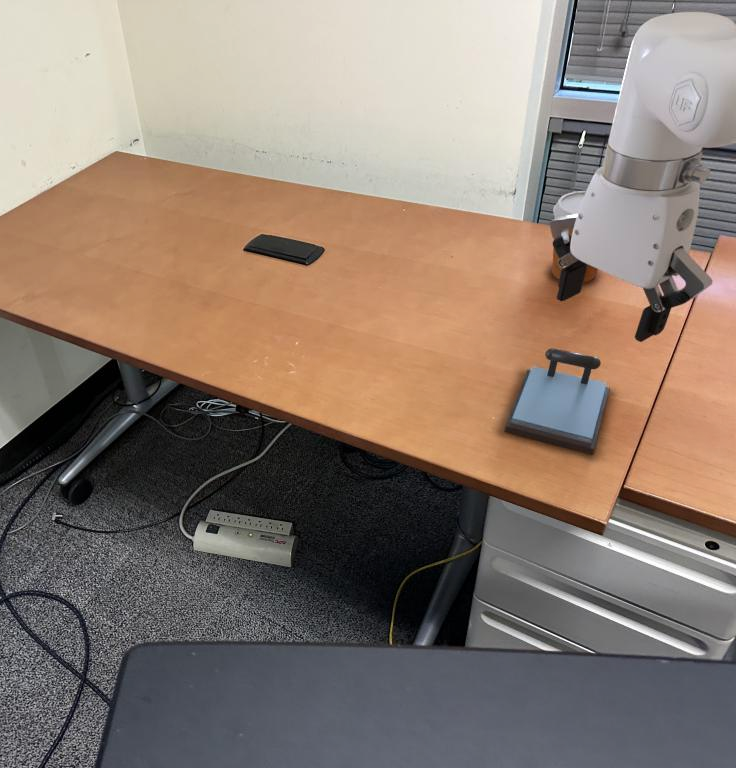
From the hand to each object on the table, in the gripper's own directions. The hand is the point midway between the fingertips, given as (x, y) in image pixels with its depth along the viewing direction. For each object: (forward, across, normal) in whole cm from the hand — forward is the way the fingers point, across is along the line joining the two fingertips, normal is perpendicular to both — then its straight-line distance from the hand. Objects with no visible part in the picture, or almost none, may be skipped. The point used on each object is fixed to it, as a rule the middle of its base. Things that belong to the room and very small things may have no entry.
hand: (605, 315), depth 75 cm
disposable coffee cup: (+16, +23, -27) cm, 39 cm away
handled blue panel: (+15, +3, 0) cm, 15 cm away
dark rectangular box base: (+16, +3, 0) cm, 16 cm away
